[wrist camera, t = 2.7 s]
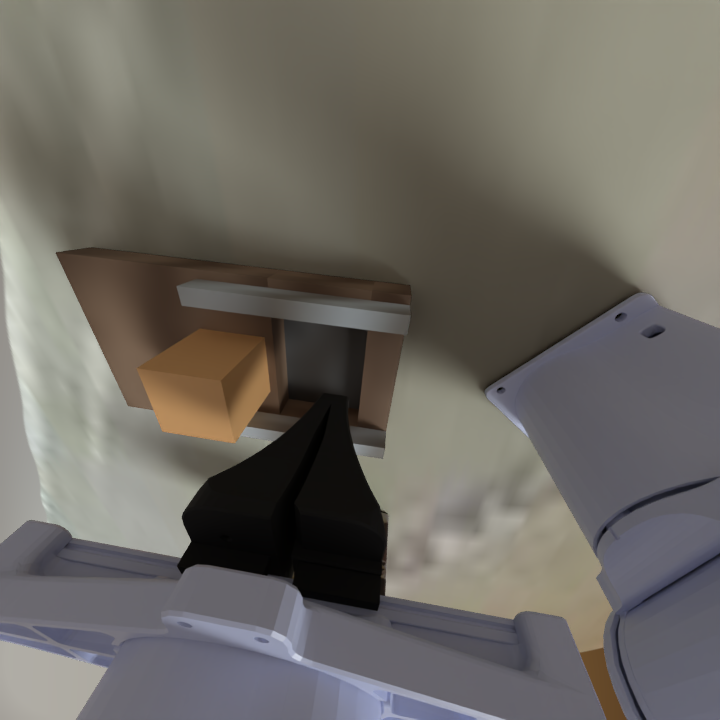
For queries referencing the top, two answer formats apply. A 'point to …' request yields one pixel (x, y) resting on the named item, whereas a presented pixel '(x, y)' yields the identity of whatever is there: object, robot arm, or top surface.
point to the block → (208, 384)
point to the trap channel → (252, 330)
